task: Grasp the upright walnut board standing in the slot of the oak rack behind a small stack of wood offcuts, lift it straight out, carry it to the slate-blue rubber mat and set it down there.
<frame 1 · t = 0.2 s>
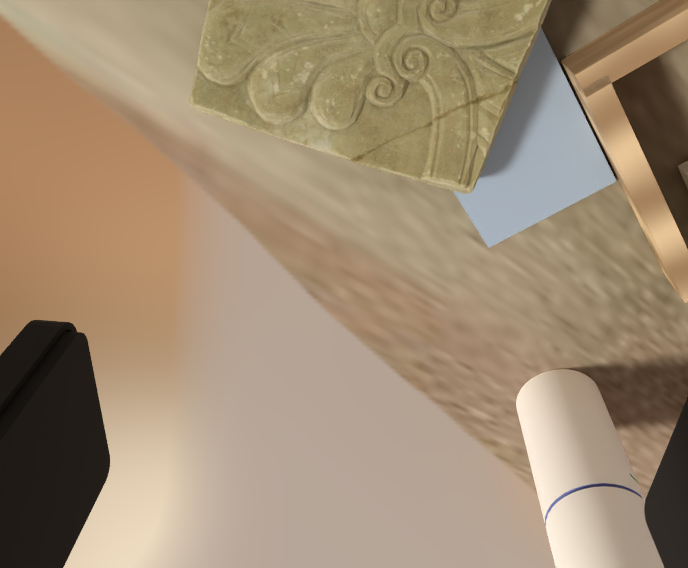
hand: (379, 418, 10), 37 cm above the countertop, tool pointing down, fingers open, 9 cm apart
decorative tile: (376, 4, 41), resting on slate-blue mat
cylindrical container: (557, 399, 57), on the countertop
slate-blue mat: (505, 134, 45), on the countertop
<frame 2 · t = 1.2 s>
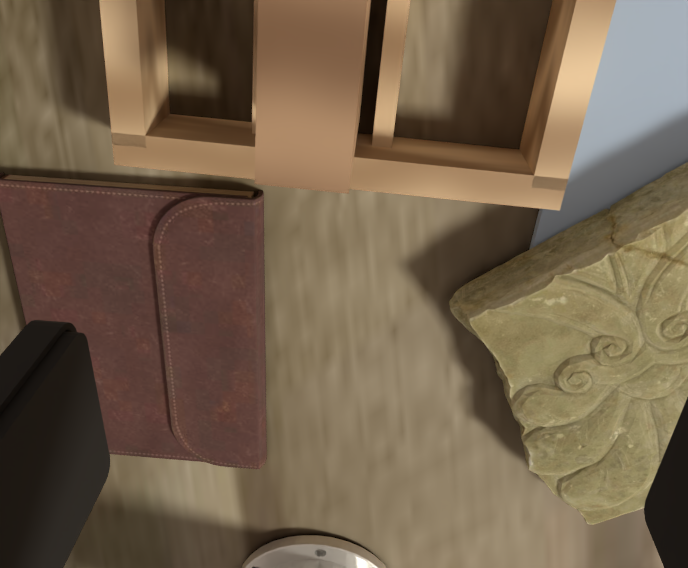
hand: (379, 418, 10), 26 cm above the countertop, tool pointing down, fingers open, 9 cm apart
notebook: (151, 323, 42), on the countertop
decorative tile: (641, 345, 39), resting on slate-blue mat
walnut board: (331, 41, 32), resting in oak rack
slate-blue mat: (654, 145, 33), on the countertop
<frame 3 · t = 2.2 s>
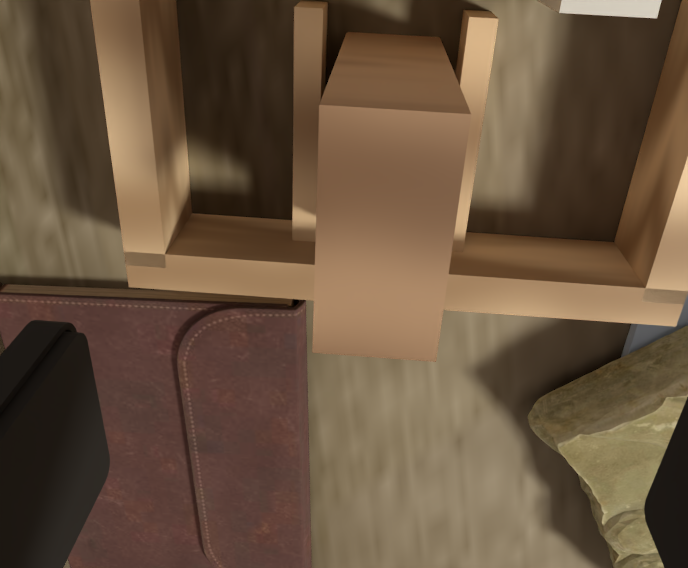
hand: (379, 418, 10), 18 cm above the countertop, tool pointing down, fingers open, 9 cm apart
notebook: (177, 435, 36), on the countertop
walnut board: (385, 126, 26), resting in oak rack
oak rack: (421, 21, 24), on the countertop
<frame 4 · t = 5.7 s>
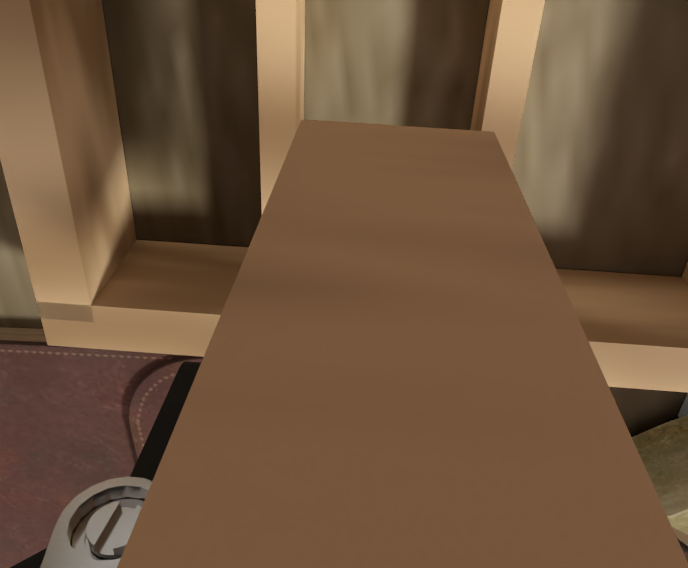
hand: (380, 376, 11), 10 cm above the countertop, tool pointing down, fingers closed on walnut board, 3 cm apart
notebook: (139, 491, 30), on the countertop
walnut board: (382, 290, 14), point 8 cm above the countertop, touching gripper
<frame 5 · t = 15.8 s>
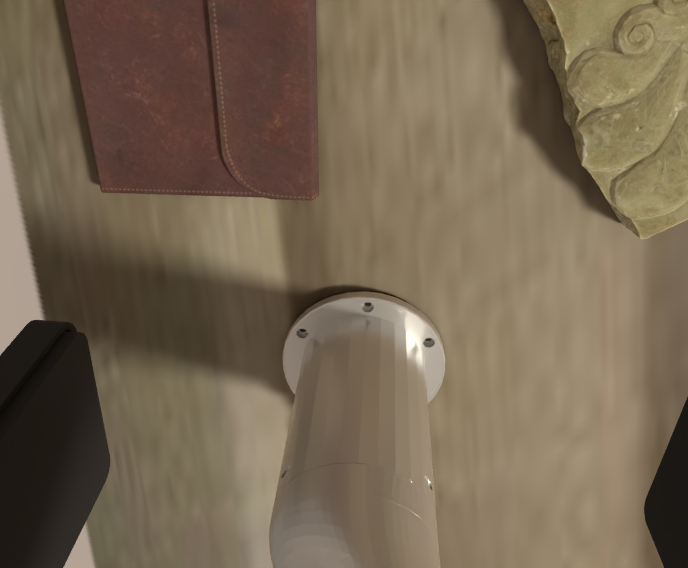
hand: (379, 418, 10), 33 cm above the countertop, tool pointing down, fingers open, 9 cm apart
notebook: (197, 36, 40), on the countertop
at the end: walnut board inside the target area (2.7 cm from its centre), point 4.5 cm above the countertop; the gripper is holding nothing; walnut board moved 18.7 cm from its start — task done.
